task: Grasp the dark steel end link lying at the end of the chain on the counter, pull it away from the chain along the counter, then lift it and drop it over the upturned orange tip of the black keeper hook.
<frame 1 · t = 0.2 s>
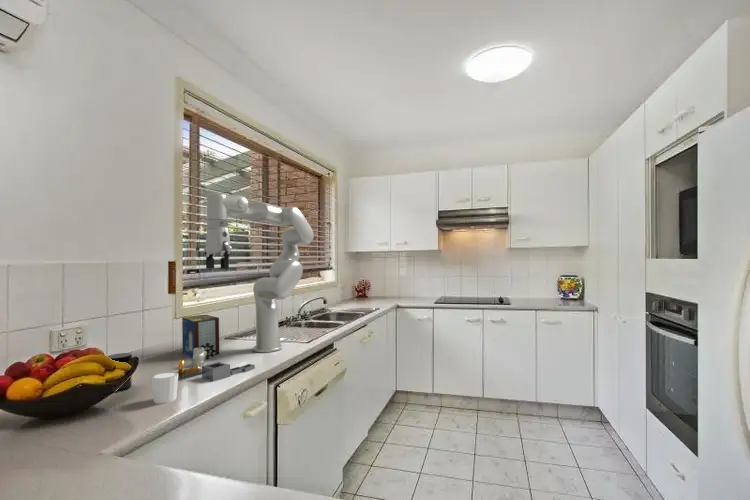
hand: (217, 268, 153), 36 cm above the counter, tool pointing down, fingers open, 9 cm apart
end link: (216, 377, 132), on the counter
valve: (202, 363, 151), on the counter
supplement container: (119, 389, 121), on the counter
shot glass: (165, 400, 111), on the counter
chain tail: (238, 371, 138), on the counter
protein box: (200, 354, 167), on the counter
keeper: (185, 375, 134), on the counter
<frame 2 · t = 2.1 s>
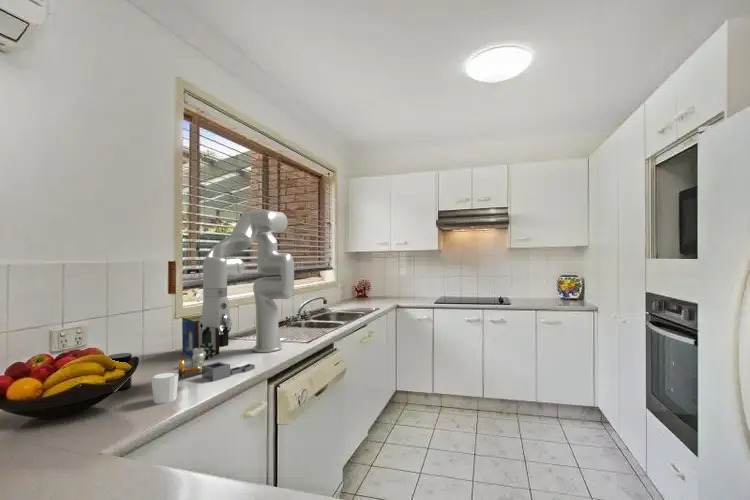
hand: (215, 344, 132), 11 cm above the counter, tool pointing down, fingers open, 9 cm apart
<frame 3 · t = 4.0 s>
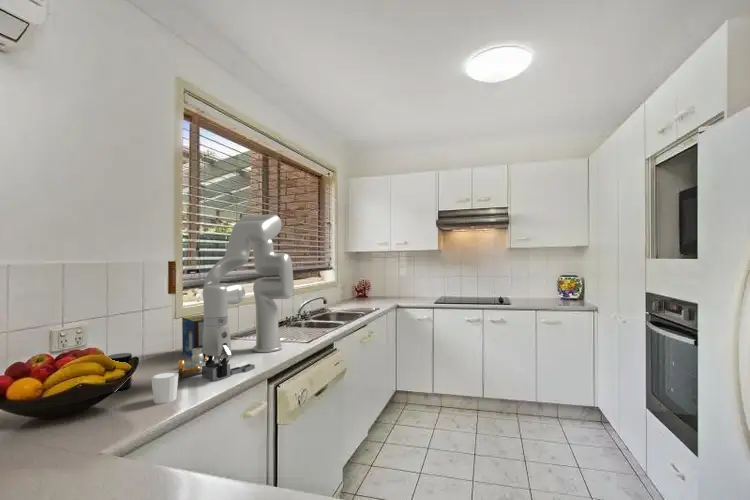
hand: (216, 374, 132), 1 cm above the counter, tool pointing down, fingers closed on end link, 6 cm apart
end link: (216, 377, 132), on the counter, touching gripper
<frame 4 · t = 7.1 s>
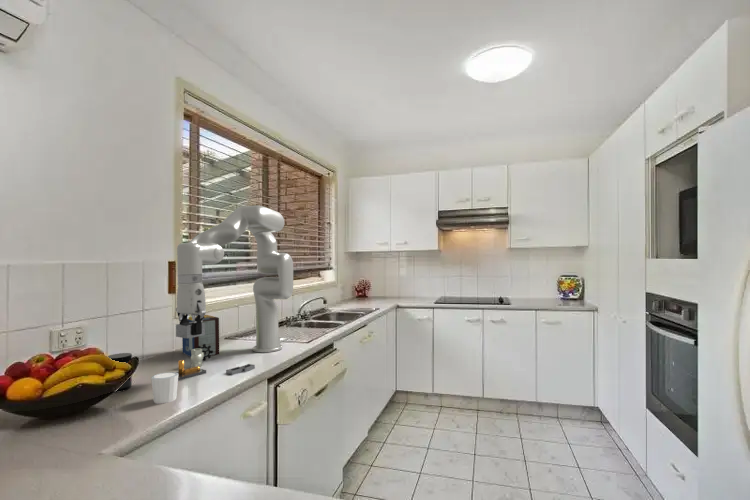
hand: (190, 333, 130), 15 cm above the counter, tool pointing down, fingers closed on end link, 6 cm apart
end link: (190, 335, 130), point 14 cm above the counter, touching gripper
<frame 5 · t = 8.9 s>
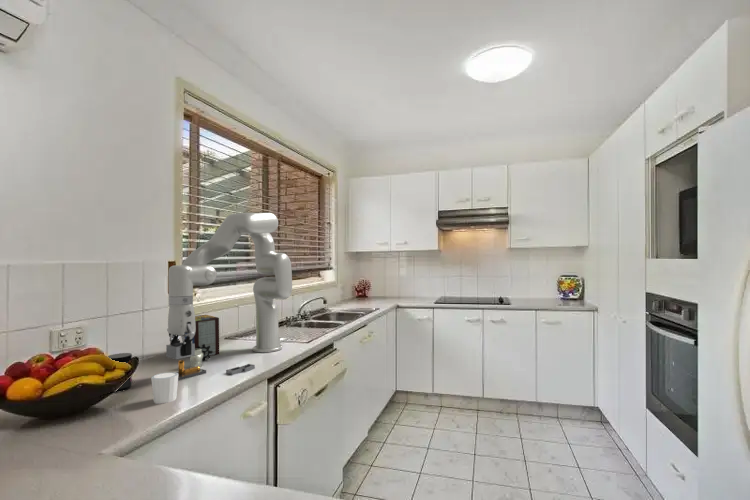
hand: (180, 353, 133), 8 cm above the counter, tool pointing down, fingers closed on end link, 6 cm apart
end link: (180, 356, 133), point 7 cm above the counter, touching gripper
when the fingers open (5 cm above the counter, at t = 10.4 s): end link drops 2 cm, resting on keeper.
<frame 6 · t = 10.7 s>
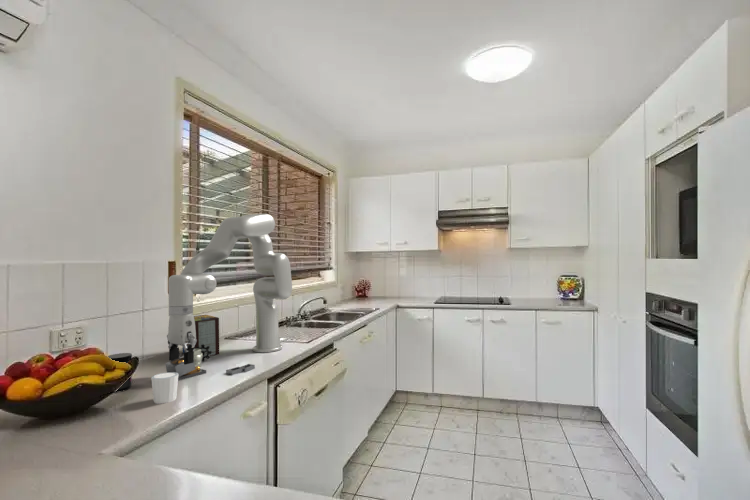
hand: (181, 361, 133), 5 cm above the counter, tool pointing down, fingers open, 8 cm apart
end link: (181, 371, 133), point 2 cm above the counter, tilted 11°, touching keeper
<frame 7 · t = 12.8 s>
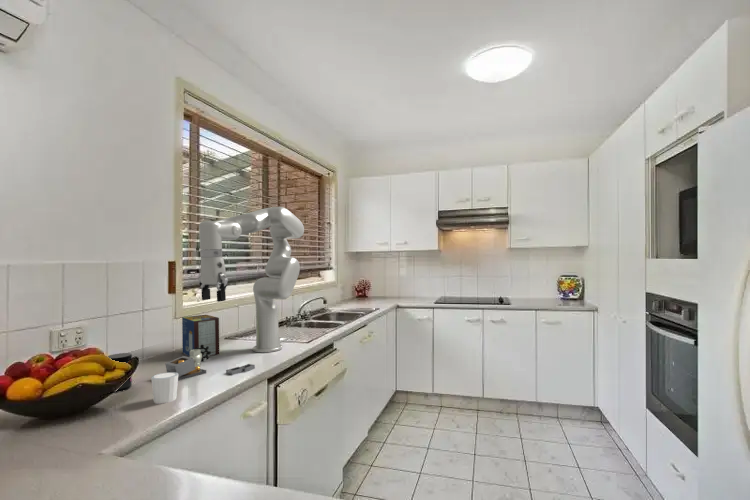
hand: (213, 300, 146), 25 cm above the counter, tool pointing down, fingers open, 9 cm apart
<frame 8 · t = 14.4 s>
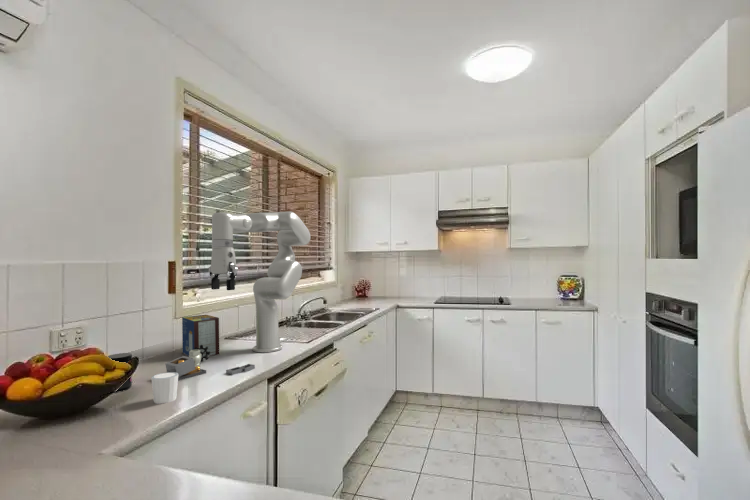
hand: (223, 289, 149), 28 cm above the counter, tool pointing down, fingers open, 9 cm apart
at the end: end link 0.1 cm from the target spot on the keeper, point 1.6 cm above the keeper's base; the gripper is holding nothing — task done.
